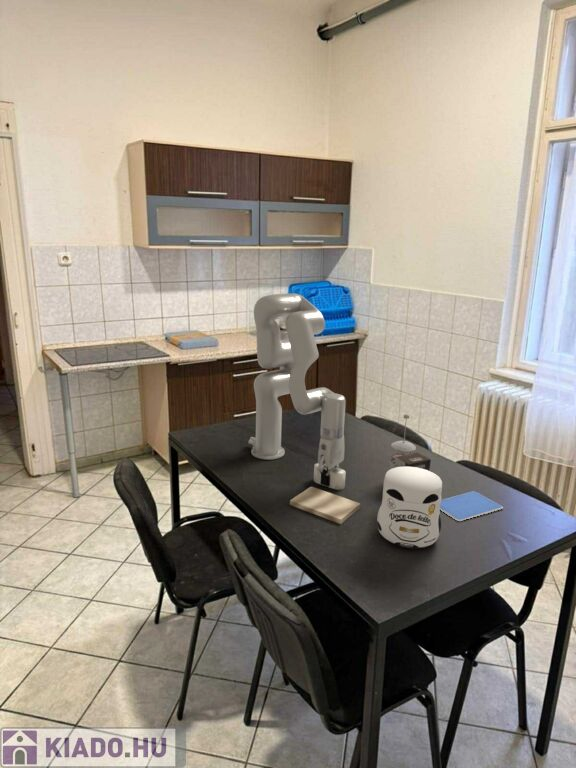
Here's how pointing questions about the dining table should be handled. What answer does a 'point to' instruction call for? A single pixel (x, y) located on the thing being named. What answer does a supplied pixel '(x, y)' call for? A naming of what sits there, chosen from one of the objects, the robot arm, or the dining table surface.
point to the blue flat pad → (468, 506)
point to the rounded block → (332, 477)
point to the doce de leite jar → (410, 507)
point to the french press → (401, 447)
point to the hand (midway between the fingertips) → (329, 481)
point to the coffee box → (413, 461)
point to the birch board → (325, 504)
